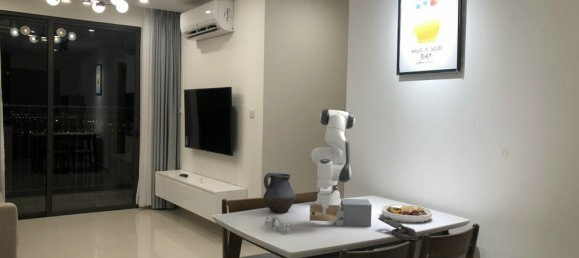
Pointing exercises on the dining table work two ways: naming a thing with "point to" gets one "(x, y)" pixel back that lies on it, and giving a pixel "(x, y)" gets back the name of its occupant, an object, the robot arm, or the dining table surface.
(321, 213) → the cabinet door
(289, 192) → the pitcher
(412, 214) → the bowl
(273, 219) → the gateway
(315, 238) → the dining table surface
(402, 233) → the dark grey clamp
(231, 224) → the dining table surface
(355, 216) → the cabinet
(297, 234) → the dining table surface
